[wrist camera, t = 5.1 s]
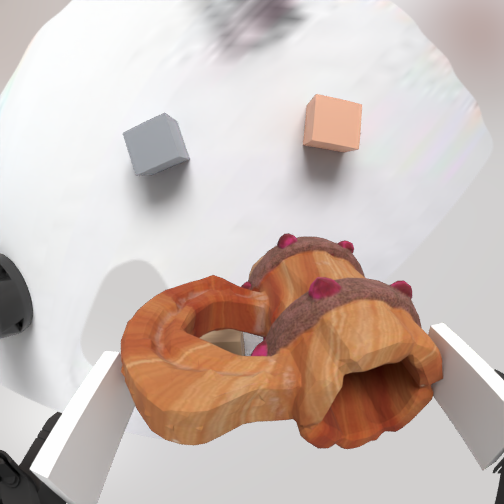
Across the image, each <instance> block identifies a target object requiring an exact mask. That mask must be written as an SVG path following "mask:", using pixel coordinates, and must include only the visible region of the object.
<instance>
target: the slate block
mask: <svg viewBox="0 0 504 504" xmlns="http://www.w3.org/2000/svg"><path fill="white" fill-rule="evenodd" d="M123 136H124V139H125V142H126V146H127V149H128V152H129V155H130V158H131V161H132V164H133V168H134V171H135V174H136V176H137V175H154V174H156V173H158V172H160V171H163V170H165V169H167V168H170V167H172V166H174V165H177V164H179V163H182V162H184V161H187V160H189V159H190V158H189V155H188V152H187V149H186V146H185V143H184V140H183V138H182V135H181V132H180V129H179V126H178V123H177V121H176V120H174V119H173V118H172V117H170V116H169V115H167V114H166V113H163V114H161V115H159V116H156V117H154V118H152V119H150V120H148V121H146V122H144V123H142V124H140V125H138V126H136V127H134V128H132V129H130V130H128V131H126V132H124V133H123Z"/></svg>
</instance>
